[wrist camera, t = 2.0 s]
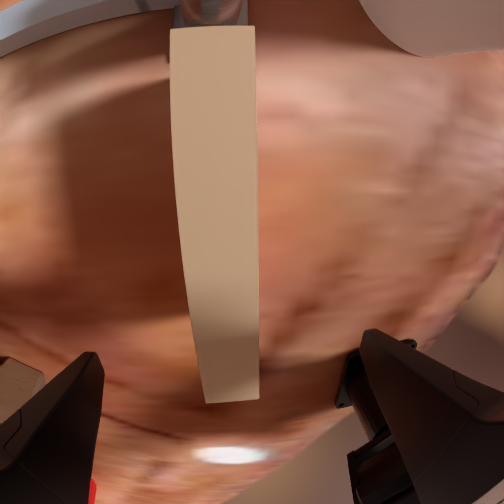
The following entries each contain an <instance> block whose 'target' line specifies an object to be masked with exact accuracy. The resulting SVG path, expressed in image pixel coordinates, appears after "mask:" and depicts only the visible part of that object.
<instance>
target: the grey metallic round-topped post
mask: <svg viewBox="0 0 504 504" xmlns="http://www.w3.org/2000/svg"><path fill="white" fill-rule="evenodd" d="M179 4H180V5H178V6H174V27H173V29H178V28H189V27H205V26H248V3H247V0H179Z"/></svg>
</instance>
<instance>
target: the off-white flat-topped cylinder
mask: <svg viewBox="0 0 504 504" xmlns="http://www.w3.org/2000/svg"><path fill="white" fill-rule="evenodd" d="M359 1H360V3H361V5H362V7H363V9H364V11H365V12H366V14H367V15H368V17H369V18H370V20H371V21H372V22H373V24H374V25H375V26H376V27H377V28H378V29H379V30H380V31H381V32H382V33H383V34H384V35H385V36H386V37H387V38H388V39H389V40H390V41H392V42H393V43H394V44H396V45H397V46H399V47H400V48H402V49H403V50H405V51H407V52H409V53H411V54H414V55H417V56H420V57H425V58H435V57H441V56H448V55H455V54H463V53H472V52H483V51H496V50H504V0H359Z"/></svg>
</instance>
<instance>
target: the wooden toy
mask: <svg viewBox="0 0 504 504" xmlns="http://www.w3.org/2000/svg"><path fill="white" fill-rule="evenodd" d="M44 386H45V384H44V376H43V373H42V372H40V371H38V370H36V369H33V368H31V367H29V366H27V365H25V364H23V363H20V362H18V361H16V360H14V359H12V358H8V359H7V360H6V361H5V362H4V363H3V364H2V365H0V424H2V423H3V422H4V421H5V420H7V419H8V418H9V417H10V416H11V415H12V414H14V413H15V412H16V411H17V410H18V409H19V408H20V409H21V406H23V405H24V404H25V403H26V402H27V401H28V400H29V399H30V398H32V397H33V396H34V395H35V394H36V393H37V392H38V391H40V390H41V389H42V388H43V387H44Z"/></svg>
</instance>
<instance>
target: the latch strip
mask: <svg viewBox="0 0 504 504" xmlns="http://www.w3.org/2000/svg"><path fill="white" fill-rule="evenodd" d="M178 5H180V4H179V0H23V1H21V2H19V3H17V4H15V5H13V6H11V7H9V8H7V9H5V10H3V11H1V12H0V57H2V56H4V55H6V54H8V53H10V52H12V51H15V50H17V49H19V48H21V47H24V46H26V45H29V44H31V43H33V42H36V41H39V40H41V39H44V38H46V37H49V36H52V35H55V34H58V33H61V32H64V31H67V30H70V29H73V28H76V27H80V26H83V25H87V24H91V23H94V22H98V21H102V20H106V19H111V18H115V17H120V16H125V15H130V14H135V13H141V12H147V11H154V10H161V9H169V8H174V6H178Z"/></svg>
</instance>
